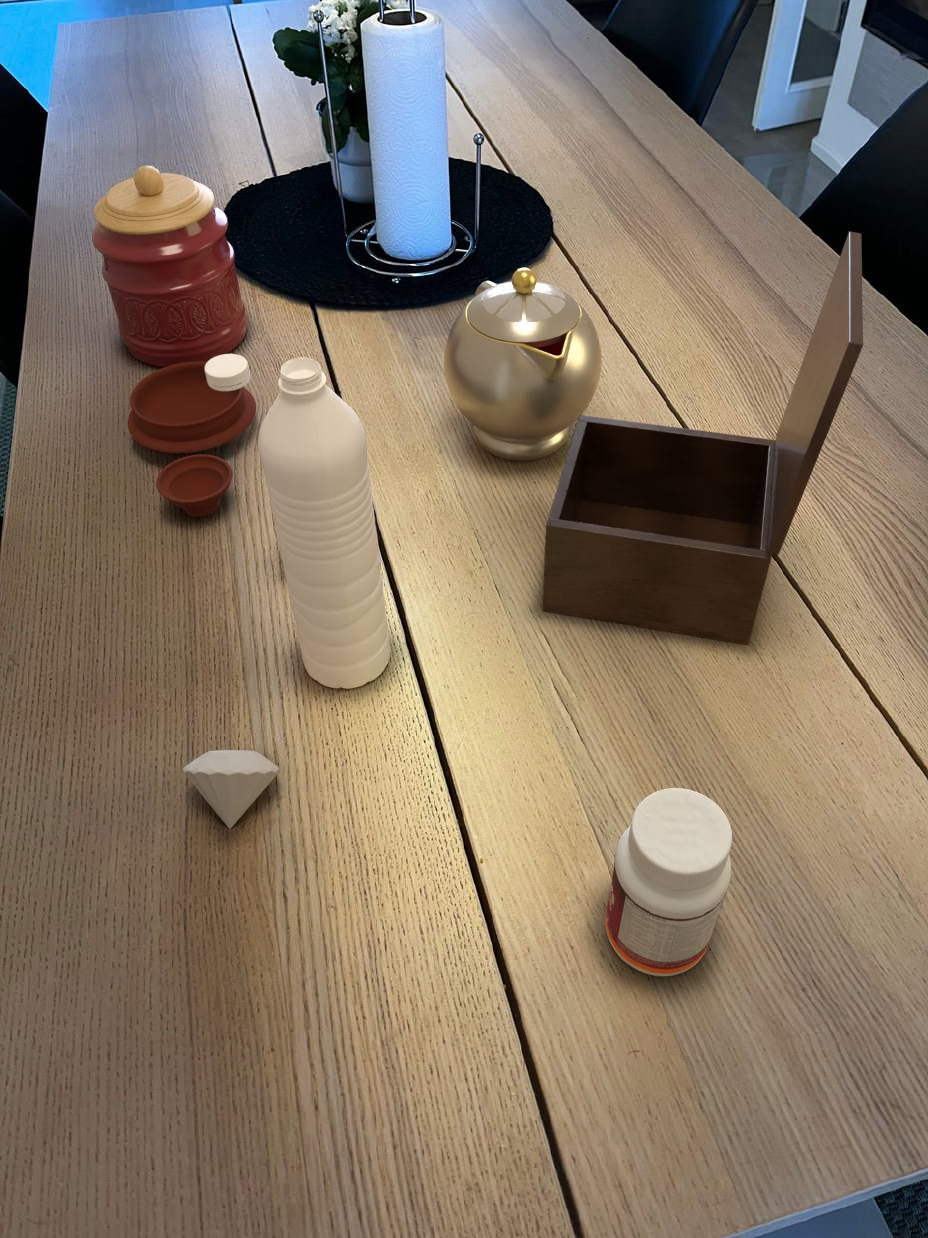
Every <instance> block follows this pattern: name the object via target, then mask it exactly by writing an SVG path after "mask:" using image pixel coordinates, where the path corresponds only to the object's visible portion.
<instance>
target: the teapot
mask: <svg viewBox="0 0 928 1238" xmlns="http://www.w3.org/2000/svg"><path fill="white" fill-rule="evenodd" d="M537 279H538V277H537V275H536V273H535V272H534V271H533V270H532V269H530V268H528V267H521V268H517V270H516V271H514V273H513V274H512V276H511V280H509V281H504V282H501V283H495V282H493V281H490V280H485V281H483V282H481V283H480V285H478V287H477V288H476V290H475V292H474V297H473V298H472V299H471V300H470V301H469V302H467V304H466V305H465V306H464V307H463V308H462V310H461V311H460V312H459V314H458V315H457V317H456V319H455V320H454V322H453V323H452V326H451V327H450V330H449V333H448V335H447V339H446V342H445V347H444V348H445V349H444V354H443V370H444V377H445V382H446V386H447V389H448V391H449V395H450V397H451V398H452V401H453V402H454V404H455V406H456V407H457V410H459V412H460V413H461V414H462V415H463V417H464V418H465V419H466V420H467V421H468V422H469V423H470V424H472V432H473V436H474V438H475V440H476V442H477V443H478V444H479V446H480V447H481V448H482V449H483V450H485V451H486V452H488V453H489V454H491V455H493V456H495V457H498V458H500V459H504V460H509V461H515V462H516V461H517V462H518V461H519V462H524V461H525V462H526V461H535V460H539V459H543V458H545V457H548V456H549V455H552V454H554V453H556V452H557V451H558V450H559V449H561V448H562V447H563V445H564V444H565V442H566V441H567V440H568V438H569V434H570V428H571V426H572V425H573V424H574V423H575V422H576V421H578V418H579V415H583V413H584V412H585V411H586V409H587V408H588V407H589V405H590V403H591V401H592V400H593V398H594V397H595V393H596V391H597V390H598V386H599V382H600V378H601V373H602V366H603V365H602V364H603V361H602V360H603V359H602V356H603V355H602V346H601V341H600V338H599V333H598V331H597V329H596V327H595V324H594V323H593V320H592V318H591V317H590V315H589V314H588V312H587V311H586V310H585V308H584V307H583V306H582V305H581V304H580V303H579V301H578V300H576V299H575V298H574V297H573V296H572V295H570V294H569V293H567V292H566V291H564V290H563V289H561V288H560V287H558V286H556V285H555V286H554V285H553V284H551V283H550V284H549V283H547V282H544V281H539V280H537Z"/></svg>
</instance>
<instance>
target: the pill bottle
mask: <svg viewBox="0 0 928 1238" xmlns="http://www.w3.org/2000/svg"><path fill="white" fill-rule="evenodd" d="M732 844H733V832H732V826H731V824H730V821H729V819H728V817H727V815H726V814H725V812H724V811H723V810H722V808H721V807H720V806H719V805H718V804H717V803H716V802H715V801H714V800H712V799H711V798H709V797H708V796H707V795H704V794H703V793H701V792H698V791H696V790H692V789H689V788H688V789H687V788H682V787H671V788H670V787H669V788H664V789H660V790H657V791H655V792H653V793H649V795H647V796H646V797H645V798H643V799H642V800H641V801H640V803H639V804H638V805H637V807H636V808H635V810H634V812H633V814H632V819H631V823H630V824H629V826H627V828H626V829H625V830H624V832H623V833H622V835H621V836H620V839H619V841H618V844H617V846H616V851H615V855H614V861H613V863H614V864H613V870H612V876H611V880H610V881H611V882H610V887H609V892H608V899H607V903H606V904H607V905H606V910H605V911H606V912H605V918H604V919H605V920H604V921H605V922H604V923H605V930H606V936H607V938H608V942H609V943H610V945H611V947H612V948H613V950H614V952H615V953H616V954H617V956H618V957H619V958H620V959H621V960H622V961H623V962H625V963H626V964H627V965H628V966H630V967H631V968H633V969H635V970H636V971H639V972H640V973H644V974H647V975H650V976H653V977H672V976H676V975H679V974H682V973H685V972H687V971H689V970H690V969H692V968H694V967H695V965H697V964H698V963H699V962H700V961H701V959H702V958H703V957H704V955H705V954H706V952H707V950H708V947H709V944H710V942H711V938H712V935H713V933H714V930H715V926H716V924H717V922H718V921H717V920H718V917H719V915H720V912H721V909H722V906H723V904H724V900H725V897H726V895H727V894H728V893H727V892H728V889H729V886H730V883H731V878H732V861H731V857H730V852H731V850H732V849H731V848H732V846H733V845H732Z"/></svg>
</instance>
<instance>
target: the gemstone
mask: <svg viewBox="0 0 928 1238" xmlns="http://www.w3.org/2000/svg"><path fill="white" fill-rule="evenodd" d="M182 772H183V774H184V775H185V776H186V777H187V778H188V780H189V781H190V782H191V784H192V785H193V786H194V787H195V788H196V790H197V791H198V792H199V794H200V795H201V796H202V797H203V798H204V800H205V801H206V802H207V803H208V804H209V806H210V807H211V808H212V809H213V811H214V812H215V813H216V815H217V816H218V817H219V818H220V819H221V821H222V822H223V823H224V824H225V825H226V827H227V828H228V829H229V830H231V829H232V828H233V827H234V826H235V824H236V823H237V822H238V821H239V820H240V818H241V817H242V816H243V815H244V814H245V812H247V811H248V809H249V808H250V807H251V806H252V804H253V803H254V802H255V801H256V800H257V799H258V797H259V796H260V795H261V794H262V793H263V791H264V790H265V789H266V788H267V787H268V786H269V784H270V783H271V782H272V781H273V780H274V779H275V778H276V777H277V775H279V773H280V768H279V766H278V765H276V764H275V763H274V762H272V761H271V760H269V759H268V758H266V756H264V755H263V754H260V753H259V752H258V751H256V750H248V749H247V750H246V749H245V750H244V749H242V750H241V749H240V750H239V749H225V750H224V749H221V750H208V751H206V752H205V753H202V754H201V755H200V756H198V757H197V758H195V759H194V760H192V761H190V762H189V763H188V764H187V765H186V766H184V768H182Z"/></svg>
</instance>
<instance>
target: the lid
mask: <svg viewBox="0 0 928 1238" xmlns="http://www.w3.org/2000/svg"><path fill="white" fill-rule="evenodd" d="M862 251H863V250H862V233H860V232H855V231H848V234H847V236H846V239H845V241H844V246H843V248H842V251H841V252H840V253H841V254H840V257H839V259H838V261H837V265H836V267H835V270H834V273H833V275H832V279H831V281H830V284H829V286H828V289H827V292H826V295H825V298H824V300H823V304H822V306H821V310H820V312H819V314H818V318H817V320H816V323H815V326H814V328H813V331H812V335H811V337H810V340H809V341H808V345H807V347H806V350H805V354H804V355H803V356H804V357H803V359H802V362H801V365H800V367H799V371H798V373H797V376H796V379H795V382H794V384H793V387H792V390H791V392H790V395H789V399H788V401H787V403H786V407H785V410H784V412H783V415H782V417H781V420H780V423H779V426H778V429H777V431H776V435H775V437H776V438H775V440H776V448H775V460H774V473H773V485H772V498H771V511H770V523H769V536H768V549H767V552H768V553H772V555H779V554H780V553H781V550H782V548H783V545H784V543H785V540H786V538H787V536H788V533H789V531H790V528H791V525H792V523H793V521H794V518H795V515H796V513H797V511H798V508H799V505H800V503H801V501H802V498H803V496H804V493H805V490H806V488H807V486H808V483H809V481H810V478H811V476H812V474H813V470H814V468H815V466H816V463H817V461H818V458H819V455H820V453H821V451H822V449H823V446H824V445H825V444H824V443H825V441H826V439H827V437H828V433H829V432H830V429H831V426H832V424H833V421H834V419H835V416H836V414H837V412H838V410H839V406H840V404H841V402H842V399H843V397H844V395H845V392H846V390H847V386H848V384H849V382H850V379H851V377H852V374H853V372H854V369H855V368H856V367H855V366H856V364H857V363H858V359H859V357H860V354H861V352H862V349H863V347H864V317H863V316H864V313H863V311H864V307H863V258H862V257H863V256H862V255H863V254H862Z"/></svg>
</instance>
